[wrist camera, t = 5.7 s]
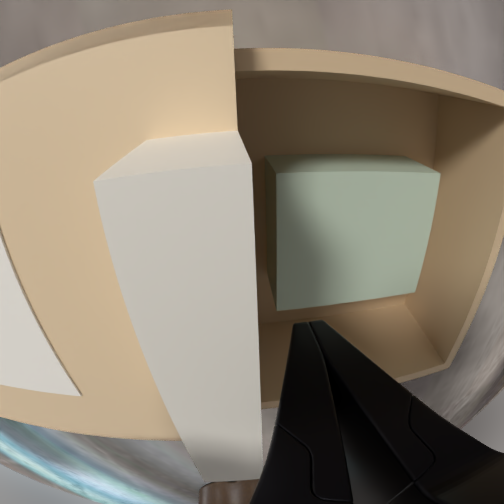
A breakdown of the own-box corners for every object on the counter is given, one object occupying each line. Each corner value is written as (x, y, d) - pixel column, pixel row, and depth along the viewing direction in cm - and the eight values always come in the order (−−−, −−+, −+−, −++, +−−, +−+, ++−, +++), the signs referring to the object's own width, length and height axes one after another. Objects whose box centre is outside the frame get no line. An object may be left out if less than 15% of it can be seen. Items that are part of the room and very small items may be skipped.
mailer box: (440, 84, 12) (525, 99, 7) (405, 304, 19) (448, 367, 14) (111, 83, 11) (44, 85, 6) (159, 331, 18) (146, 413, 13)
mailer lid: (229, 27, 7) (242, -51, 2) (252, 401, 15) (263, 497, 10) (-104, 149, 6) (-176, 193, 1) (2, 389, 14) (-23, 454, 9)
